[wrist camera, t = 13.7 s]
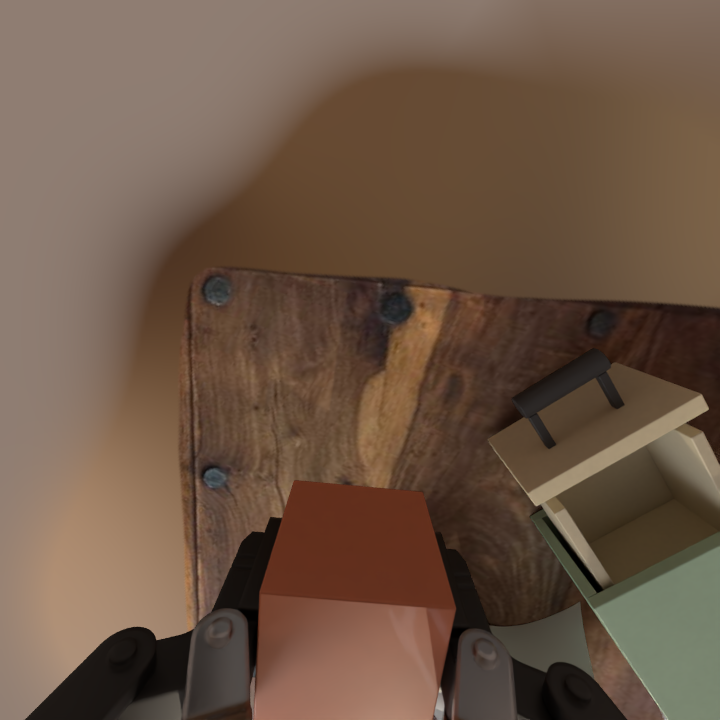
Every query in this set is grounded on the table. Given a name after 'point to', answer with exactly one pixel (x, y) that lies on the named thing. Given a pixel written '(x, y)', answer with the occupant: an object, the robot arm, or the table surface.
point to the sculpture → (543, 643)
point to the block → (352, 608)
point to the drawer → (614, 464)
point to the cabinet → (661, 622)
